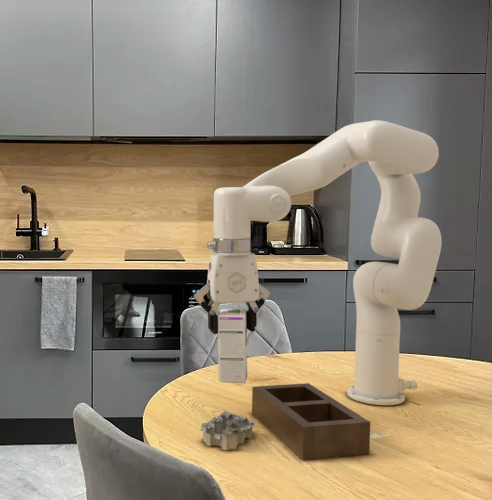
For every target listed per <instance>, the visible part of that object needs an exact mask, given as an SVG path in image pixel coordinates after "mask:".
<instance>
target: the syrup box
mask: <svg viewBox="0 0 492 500" xmlns="http://www.w3.org/2000/svg"><path fill="white" fill-rule="evenodd" d="M246 311H247V309H241V308H224V309H223V308H222V309H221V308H220V309H219V312H218V313H217V315H218V333H217V353H218V354H217V355H218V357H217V358H218V361H217V363H218V369H217V370H218V382H219V383H227V384H247V379H248V329H247V321H246Z"/></svg>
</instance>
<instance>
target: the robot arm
mask: <svg viewBox="0 0 492 500" xmlns="http://www.w3.org/2000/svg"><path fill="white" fill-rule="evenodd" d="M439 154H440V151H439V146H438V143H437V142H436V140H434V138H433V137H431V135H428V134H427V133H425V132H422V131H418V130H416V129H412V128H410V127H405V126H404V125H399V124H397V123H393V122H390V121H386V120H380V119H374V120H368V121H363V122H362V121H361V122H355V123H351V124H347V125H345V126H343V127H341V128H339V129H338V130H337V131H335V132H333V133H332V134H331V135H329V136H327V137H326V138H324V139H323V140H321V141H320V142H318V143H316V144H315V145H314V146H312V147H311V148H310V149H308V150H307V151H305V152H303V153H301V154H299V155H297V156H295V157H293V158H291V159H288V160H287V161H285V162H283V163H281V164H279V165H277V166H274V167H273V168H270V169H269V170H267V171H265V172H263V173H262V174H260V175H258V176H257V177H255V178H253V179H252V180H250V181H249V182H248V183H246V184H245V185H243V186H232V187H231V186H227V187H218V188H216V189H215V190H214V192H213V238H212V241H210V242H207V243H206V247H207V249H208V250H212V252H213V253H210V257H209V263H208V269H207V280H206V284H205V285H203V286H202V287H201V288H200V289H199V290H198V291H197V292H196V293H194V294H193V298H194V300H196V302H197V303H198V304H199V306H200V307H201V308H202V309H203V310H204V311H205V312H206V313H207V328H208V330H209V331H210V332H211V333H212V334H214V335H218V314H217V312H218V309H219V307H220V305H221V304H243V303H245V305H246V306H247V308H248V309H246V321H247V331H250V332H252V333H254V332H256V327H257V325H258V323H257V319H258V317H257V313H258V312H259V311H260V309H261V308H262V307H263V306H264V305H265V302H266V301H267V300H268V298H269V297H270V296H271V292H270V290H268V289H267V288H266V287H265V286H263V285H262V284H261V283H259V281H260V280H259V272H258V270H259V269H258V264H257V259H256V254H255V253H253V252H251V251H252V249H251V248H252V247H251V246H252V245H251V244H252V243H251V242H252V240H251V232H252V231H251V229H252V228H251V226H252V225H251V222H261V223H275V222H279V221H280V220H283V219H284V218H286V216H287V215H288V214H289V213H290V211H291V208H292V199H291V197H292V196H295V195H299V194H304V193H308V192H313V191H316V190H319V189H321V188H324V187H327V185H329V184H331V183H332V182H333V181H336V180H337V179H339V177H341V176H342V175H344V174H345V173H347V172H348V171H350V170H351V169H353V168H354V167H356V166H357V165H359V164H361V163H365V162H367V163H368V166H369V168H370V169H371V171H372V172H373V174H374V175H375V177H376V179H377V181H378V183H379V186H380V187H379V188H380V191H381V192H380V200H379V204H378V209H377V213H376V217H375V219H374V223H373V227H372V232H371V237H370V246H371V248H372V250H373V252H374V253H375V254H377V255H379V256H382V257H386V258H391V259H392V258H393V259H399V261H398V263H393V262H386V261H368V262H366V263H364V264H362V265H360V266H359V267H358V268H357V270H356V271H355V273H354V275H353V279H352V287H353V288H352V289H353V295H354V301H355V310H356V311H355V313H356V319H355V320H356V323H355V325H356V326H355V327H356V328H355V351H354V353H355V354H354V384H353V385H350V386H349V387H348V388H347V389H346V395H347V396H348V397H349V398H350V399H352V400H354V401H357V402H359V403H363V404H368V405H374V406H396V405H397V406H398V405H400V404H403V403H404V402H405V401H406V395H405V393H403V391H405V390H416V389H417V388H418V382H417V381H416V380H413V379H412V380H405V379H404V378H399V374H400V373H399V372H400V371H399V370H400V346H401V345H400V343H401V318H400V314H399V312H398V309H401V310H406V311H412V310H416V309H418V308H420V307H421V306H423V305H424V303H426V302H427V299H428V297H429V295H430V292H431V290H432V286H433V282H434V279H435V274H436V271H437V267H438V263H439V260H440V255H441V251H442V245H443V243H442V241H443V240H442V233H441V229H440V228H439V226H438V224H436V223H435V221H433V220H431V219H429V218H427V217H421V216H418V215H419V210H420V206H421V199H422V196H421V195H422V193H421V189H420V187H419V184H418V182H417V180H416V178H415V176H414V175H417V174H423V173H426V172H428V171H430V170H431V169H433V168H434V167H435V165H436V164H437V162H438V160H439V157H440V156H439ZM205 296H207V298H208V300H209V303H208V302H206V300H205V299H204V297H205Z"/></svg>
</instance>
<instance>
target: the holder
mask: <svg viewBox="0 0 492 500" xmlns="http://www.w3.org/2000/svg"><path fill="white" fill-rule="evenodd" d="M251 392H252V393H251V414H252V416H253V417H254V418H255V419H257V420H258V421H259V422H260V423H261V424H262V425H263V426H265V428H267V429H268V430H269V431H270V432H271V433H272V434H273V435H274V436H275V437H277V438H278V440H280V441H281V442H282V443H283V444H284V445H286V446H287V447H288V449H290V450H291V451H292V452H293V453H294V454H295V455H296V456H298V458H300V459H301V460H302V461H308V460H317V459H319V460H320V459H331V458H343V457H351V456H353V457H354V456H366V455H370V451H371V450H370V448H371V447H370V445H371V421H370V420H368V419H367V418H365V417H363V416H361V415H360V414H359V413H357V412H355V411H353V410H352V409H350V408H349V407H347V406H346V405H344V404H342V403H341V402H339V401H338V400H336V399H334V398H333V397H331V396H330V395H328V394H327V393H325V392H324V391H322V390H320V389H318V388H317V387H315V386H314V385H312V384H311V383H308V382H307V383H291V384H290V383H289V384H275V385H259V386H258V385H257V386H252V391H251Z"/></svg>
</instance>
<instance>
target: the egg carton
mask: <svg viewBox="0 0 492 500" xmlns="http://www.w3.org/2000/svg"><path fill="white" fill-rule="evenodd" d="M255 423H256V421H255V420H254V419H253V420H251V421H250V420H249V419H248V417H247V416H245V417H243V416H241V415H238V414H236V413H234V414H233V413H232V412H230V411H227V410H223V412H222V413H220V414H219V415H217V416H213V418H212V419H210V420H207V422H202V423H201V425H200V431H201V432H202V441H203V442H204V443H205V445H206V446H208V447H212V446H218V447H221V450H222V451H223V450H224V451H228V450H237V449H238V445H243V444H244V443H245V441H246V439H252V438H253V436H254V435H253V429H254V427H255V425H256V424H255Z"/></svg>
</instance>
